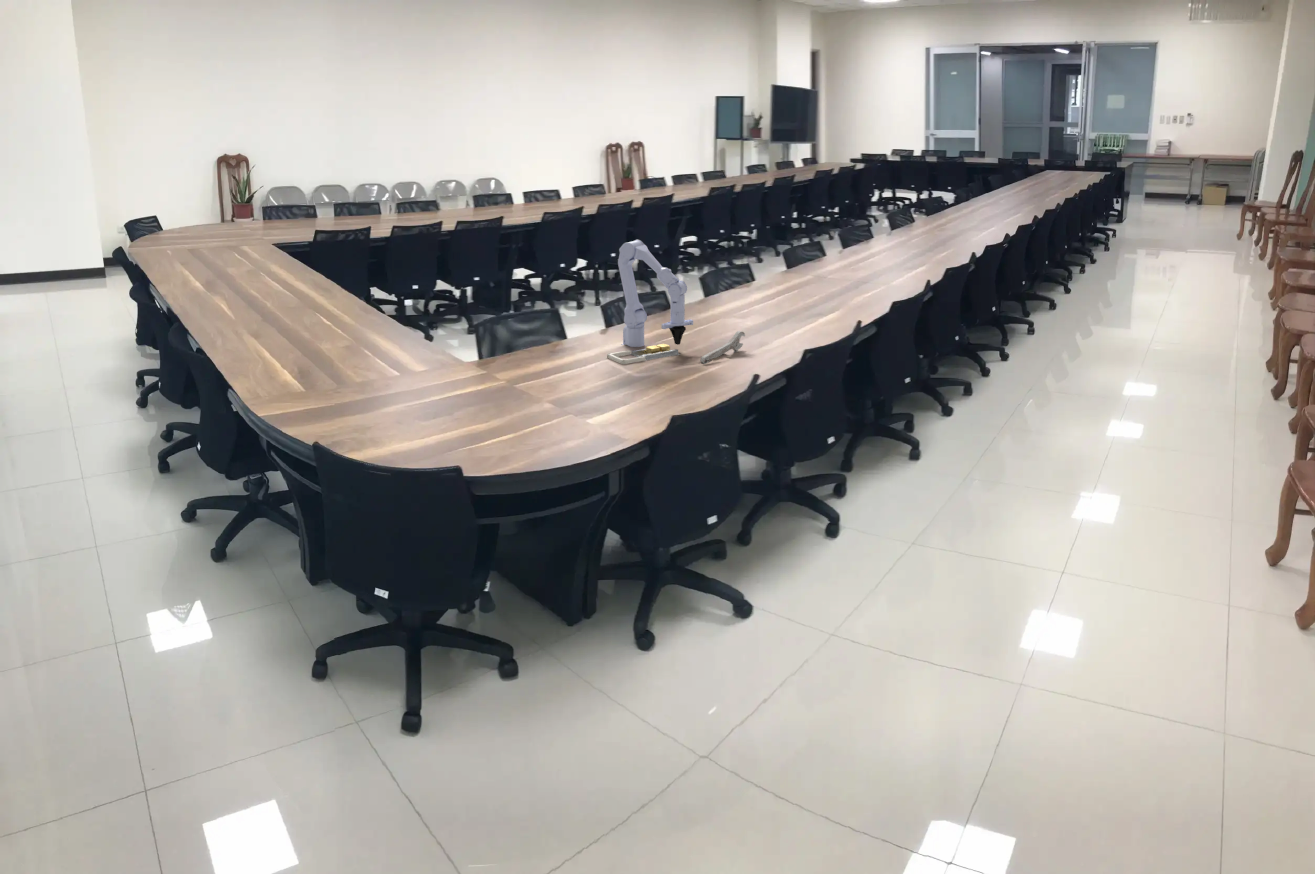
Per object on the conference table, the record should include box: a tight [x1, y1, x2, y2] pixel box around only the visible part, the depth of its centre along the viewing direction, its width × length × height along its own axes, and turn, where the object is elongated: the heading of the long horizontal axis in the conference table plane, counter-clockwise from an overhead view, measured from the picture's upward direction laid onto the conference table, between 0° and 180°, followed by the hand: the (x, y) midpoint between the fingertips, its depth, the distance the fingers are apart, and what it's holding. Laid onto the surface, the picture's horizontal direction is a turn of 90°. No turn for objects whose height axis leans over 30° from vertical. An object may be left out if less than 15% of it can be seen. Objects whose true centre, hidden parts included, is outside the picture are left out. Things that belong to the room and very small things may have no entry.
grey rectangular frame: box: [606, 349, 645, 365], centre depth 363 cm, size 12×10×2 cm
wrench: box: [700, 330, 746, 365], centre depth 370 cm, size 8×2×30 cm
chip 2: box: [655, 343, 671, 352], centre depth 371 cm, size 4×4×3 cm
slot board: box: [630, 348, 681, 362], centre depth 370 cm, size 12×17×2 cm
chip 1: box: [645, 345, 660, 354], centre depth 369 cm, size 4×4×3 cm
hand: (677, 344), depth 375 cm, fingers closed
